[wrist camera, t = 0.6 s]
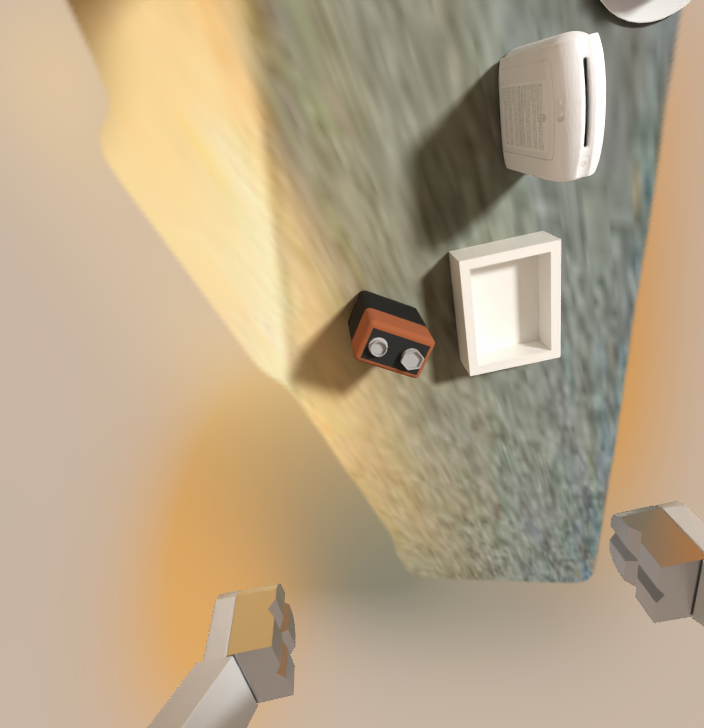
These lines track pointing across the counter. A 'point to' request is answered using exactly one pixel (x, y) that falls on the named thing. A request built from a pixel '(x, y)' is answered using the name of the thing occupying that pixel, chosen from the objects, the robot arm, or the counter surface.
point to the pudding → (644, 9)
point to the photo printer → (553, 106)
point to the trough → (507, 302)
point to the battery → (389, 335)
